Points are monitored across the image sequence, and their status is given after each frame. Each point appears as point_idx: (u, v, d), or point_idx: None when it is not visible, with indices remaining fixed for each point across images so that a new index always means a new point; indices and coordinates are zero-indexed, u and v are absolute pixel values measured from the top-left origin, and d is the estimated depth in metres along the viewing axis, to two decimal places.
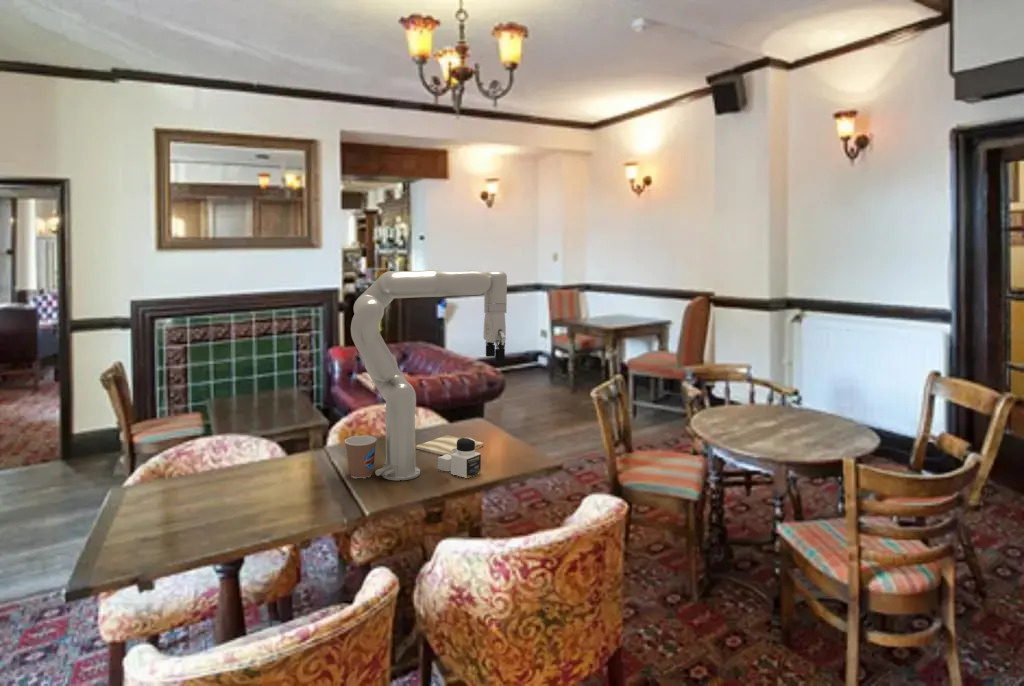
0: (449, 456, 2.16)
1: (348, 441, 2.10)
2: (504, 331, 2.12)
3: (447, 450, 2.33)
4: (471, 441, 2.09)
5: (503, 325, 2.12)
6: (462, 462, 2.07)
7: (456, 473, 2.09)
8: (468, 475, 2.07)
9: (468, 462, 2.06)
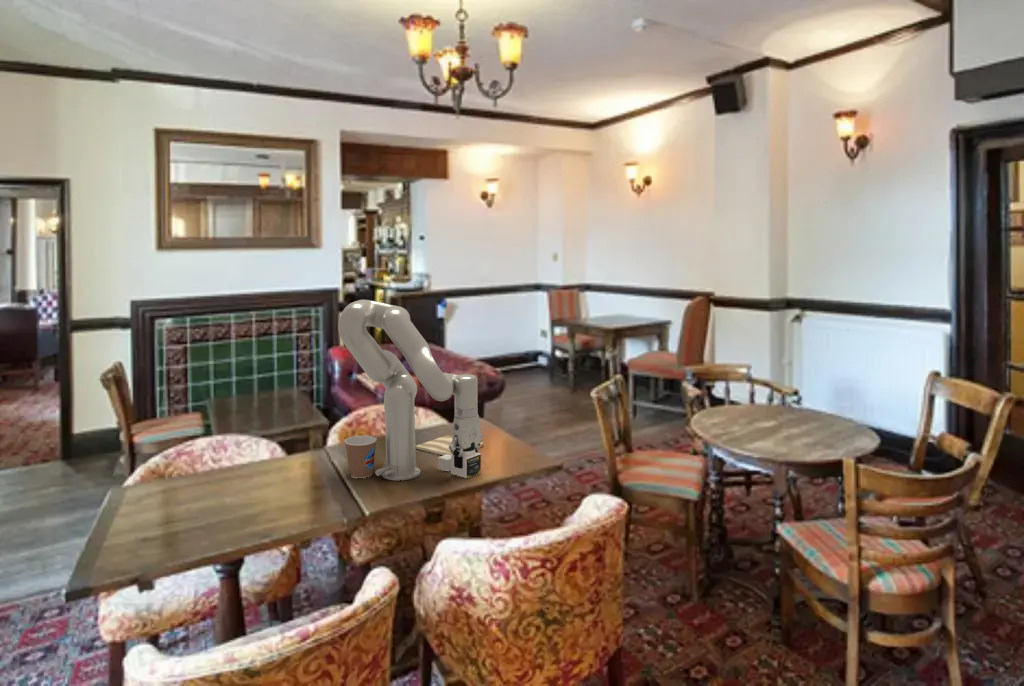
0: (449, 456, 2.16)
1: (348, 441, 2.10)
2: None
3: (447, 450, 2.33)
4: None
5: None
6: None
7: (456, 473, 2.09)
8: (468, 475, 2.07)
9: (468, 462, 2.06)
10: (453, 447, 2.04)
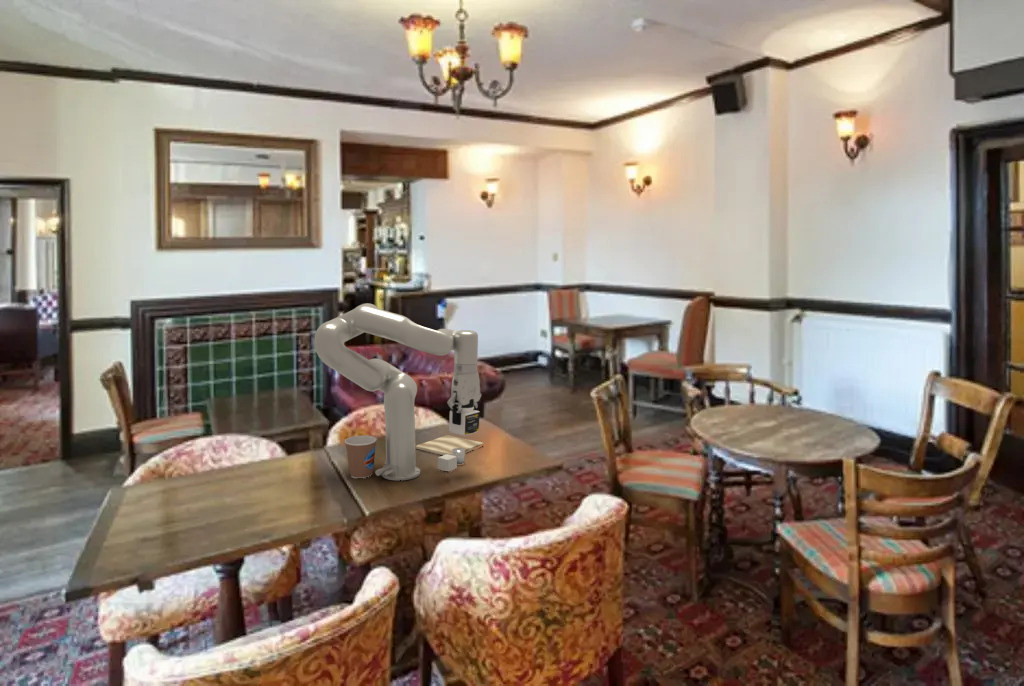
0: (449, 456, 2.16)
1: (348, 441, 2.10)
2: None
3: (447, 450, 2.33)
4: None
5: None
6: None
7: (454, 430, 2.07)
8: (466, 432, 2.05)
9: (466, 419, 2.04)
10: (452, 402, 2.02)
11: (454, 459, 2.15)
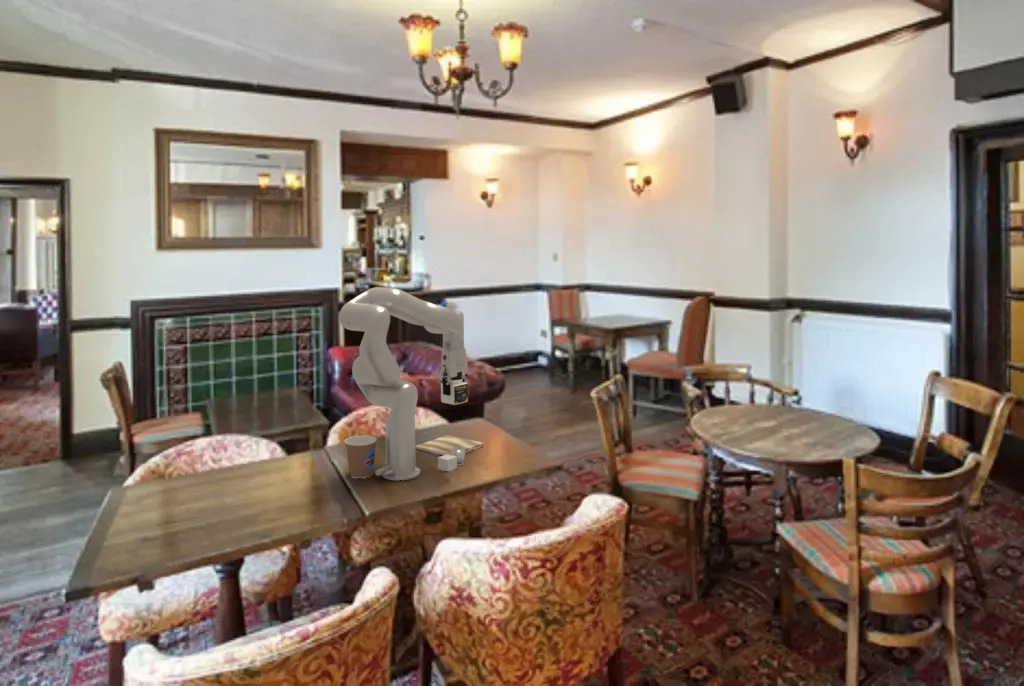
0: (449, 456, 2.16)
1: (348, 441, 2.10)
2: None
3: (447, 450, 2.33)
4: None
5: None
6: (450, 390, 2.29)
7: (445, 400, 2.32)
8: (456, 401, 2.29)
9: (455, 390, 2.29)
10: (441, 375, 2.26)
11: (454, 459, 2.15)
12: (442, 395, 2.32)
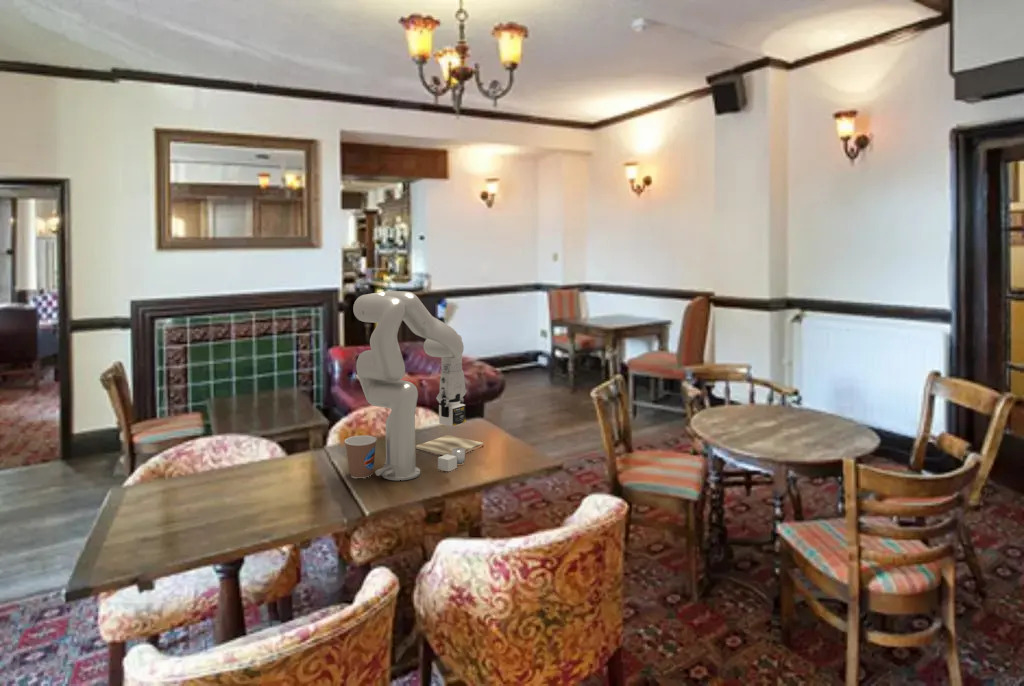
0: (449, 456, 2.16)
1: (348, 441, 2.10)
2: None
3: (447, 450, 2.33)
4: None
5: None
6: None
7: (443, 422, 2.36)
8: (454, 423, 2.34)
9: (454, 412, 2.33)
10: (440, 398, 2.31)
11: (454, 459, 2.15)
12: (440, 417, 2.37)
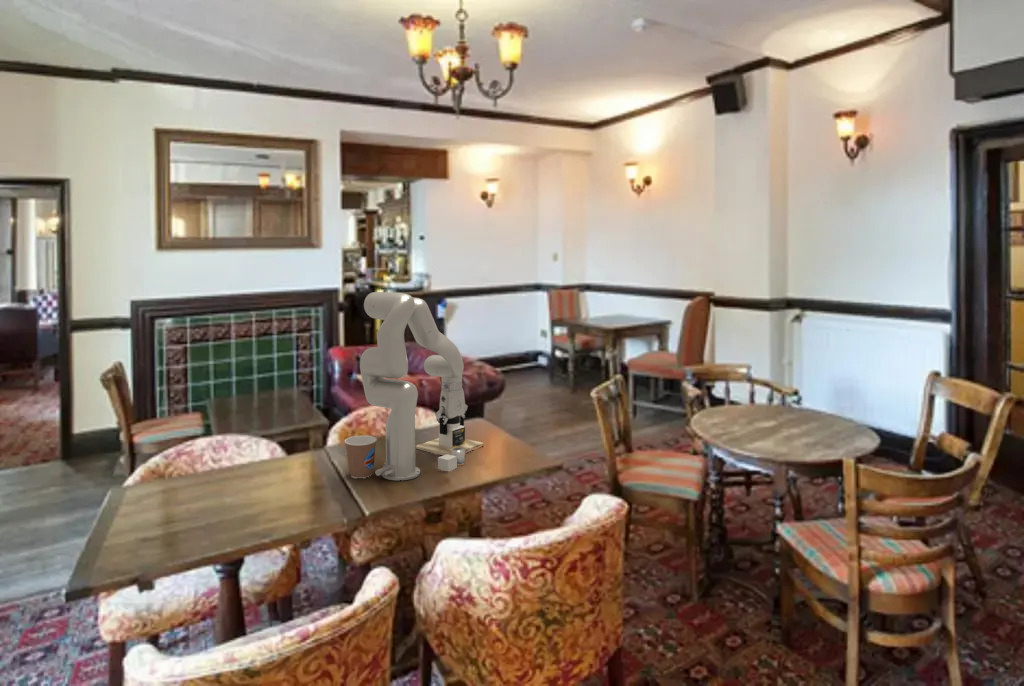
0: (449, 456, 2.16)
1: (348, 441, 2.10)
2: None
3: (447, 450, 2.33)
4: None
5: None
6: (448, 434, 2.35)
7: (443, 443, 2.37)
8: (454, 445, 2.35)
9: (453, 434, 2.34)
10: (439, 415, 2.31)
11: (454, 459, 2.15)
12: (440, 438, 2.37)
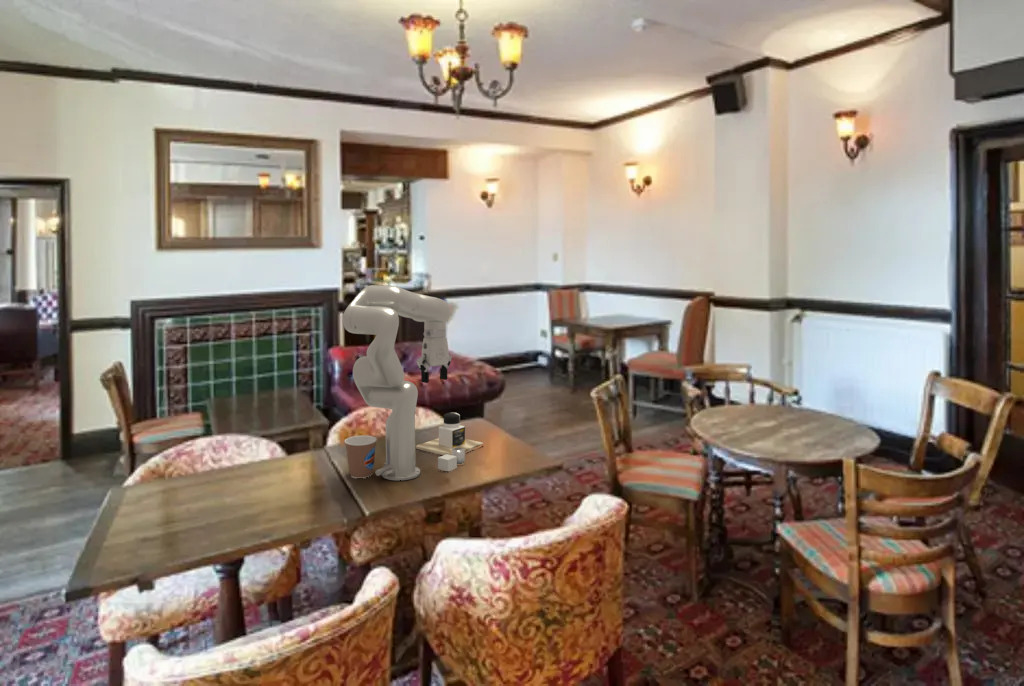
0: (449, 456, 2.16)
1: (348, 441, 2.10)
2: None
3: (447, 450, 2.33)
4: (456, 415, 2.36)
5: None
6: (448, 434, 2.35)
7: (443, 443, 2.37)
8: (454, 445, 2.35)
9: (453, 434, 2.34)
10: (420, 361, 2.27)
11: (454, 459, 2.15)
12: (440, 438, 2.37)
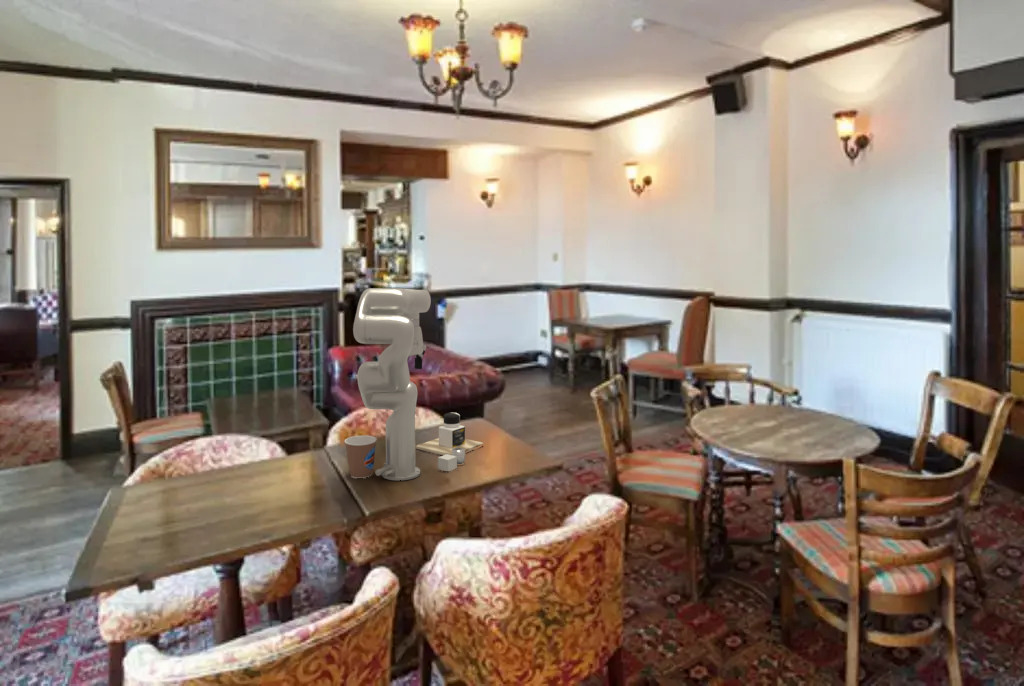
0: (449, 456, 2.16)
1: (348, 441, 2.10)
2: None
3: (447, 450, 2.33)
4: (456, 415, 2.36)
5: None
6: (448, 434, 2.35)
7: (443, 443, 2.37)
8: (454, 445, 2.35)
9: (453, 434, 2.34)
10: None
11: (454, 459, 2.15)
12: (440, 438, 2.37)
